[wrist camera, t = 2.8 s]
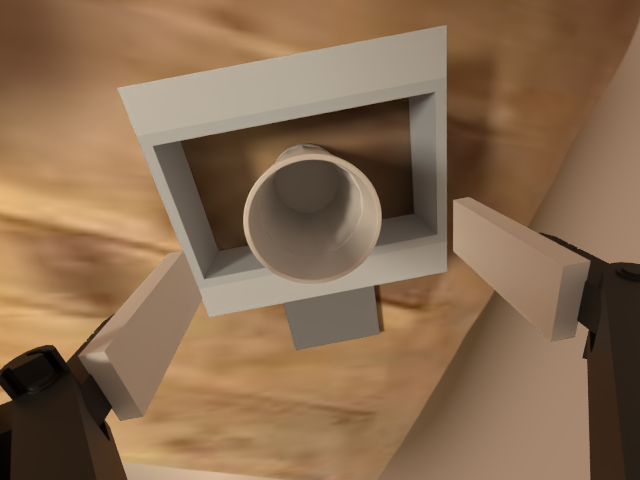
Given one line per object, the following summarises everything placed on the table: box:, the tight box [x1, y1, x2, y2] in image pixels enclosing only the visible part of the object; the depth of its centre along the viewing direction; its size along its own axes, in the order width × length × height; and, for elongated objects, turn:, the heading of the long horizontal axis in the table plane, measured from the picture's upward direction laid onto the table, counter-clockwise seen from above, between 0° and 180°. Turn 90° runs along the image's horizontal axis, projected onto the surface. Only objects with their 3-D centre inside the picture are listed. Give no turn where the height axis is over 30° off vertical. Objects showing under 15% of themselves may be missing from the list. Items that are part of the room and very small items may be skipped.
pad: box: [283, 286, 380, 350], centre depth 34 cm, size 10×10×1 cm
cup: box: [243, 143, 382, 284], centre depth 23 cm, size 8×8×12 cm
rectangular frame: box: [117, 25, 447, 317], centre depth 26 cm, size 19×22×6 cm
